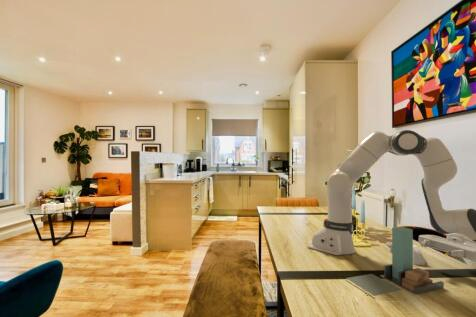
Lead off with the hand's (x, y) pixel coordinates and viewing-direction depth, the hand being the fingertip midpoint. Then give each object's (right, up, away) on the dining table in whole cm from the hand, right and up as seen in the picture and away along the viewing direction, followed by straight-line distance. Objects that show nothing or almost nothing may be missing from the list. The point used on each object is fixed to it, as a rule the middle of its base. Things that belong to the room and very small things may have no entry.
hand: (435, 248), depth 91 cm
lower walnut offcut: (-13, -10, -8) cm, 19 cm away
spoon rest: (+4, -12, +21) cm, 24 cm away
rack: (-13, -11, -5) cm, 18 cm away
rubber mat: (-28, -11, -7) cm, 30 cm away
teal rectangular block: (-14, -10, -2) cm, 17 cm away
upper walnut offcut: (-13, -7, -8) cm, 17 cm away
